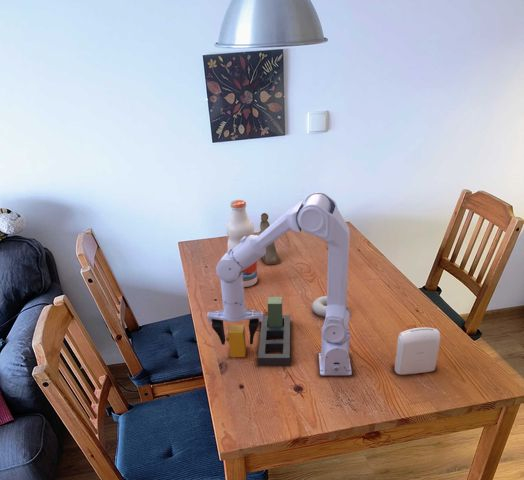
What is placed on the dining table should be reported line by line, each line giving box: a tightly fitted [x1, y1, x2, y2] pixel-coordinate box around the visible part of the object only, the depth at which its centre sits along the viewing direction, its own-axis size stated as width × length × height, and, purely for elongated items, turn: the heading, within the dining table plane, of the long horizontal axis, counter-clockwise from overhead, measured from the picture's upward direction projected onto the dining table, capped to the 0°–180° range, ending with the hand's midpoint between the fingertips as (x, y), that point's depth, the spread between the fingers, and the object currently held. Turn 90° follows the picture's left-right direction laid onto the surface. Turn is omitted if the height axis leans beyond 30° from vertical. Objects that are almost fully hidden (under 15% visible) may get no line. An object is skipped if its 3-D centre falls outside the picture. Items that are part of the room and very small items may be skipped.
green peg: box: [267, 296, 284, 327], centre depth 139 cm, size 4×4×10 cm
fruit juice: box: [225, 199, 258, 288], centre depth 160 cm, size 9×9×28 cm
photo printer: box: [394, 326, 441, 376], centre depth 120 cm, size 10×4×12 cm, turn 96°
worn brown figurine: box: [258, 212, 280, 266], centre depth 180 cm, size 12×6×18 cm, turn 11°
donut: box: [312, 295, 327, 318], centre depth 148 cm, size 10×4×10 cm
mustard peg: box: [227, 324, 247, 358], centre depth 131 cm, size 4×4×8 cm
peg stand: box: [257, 314, 291, 366], centre depth 136 cm, size 22×8×2 cm, turn 177°
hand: (237, 342), depth 131 cm, fingers open, 7 cm apart
